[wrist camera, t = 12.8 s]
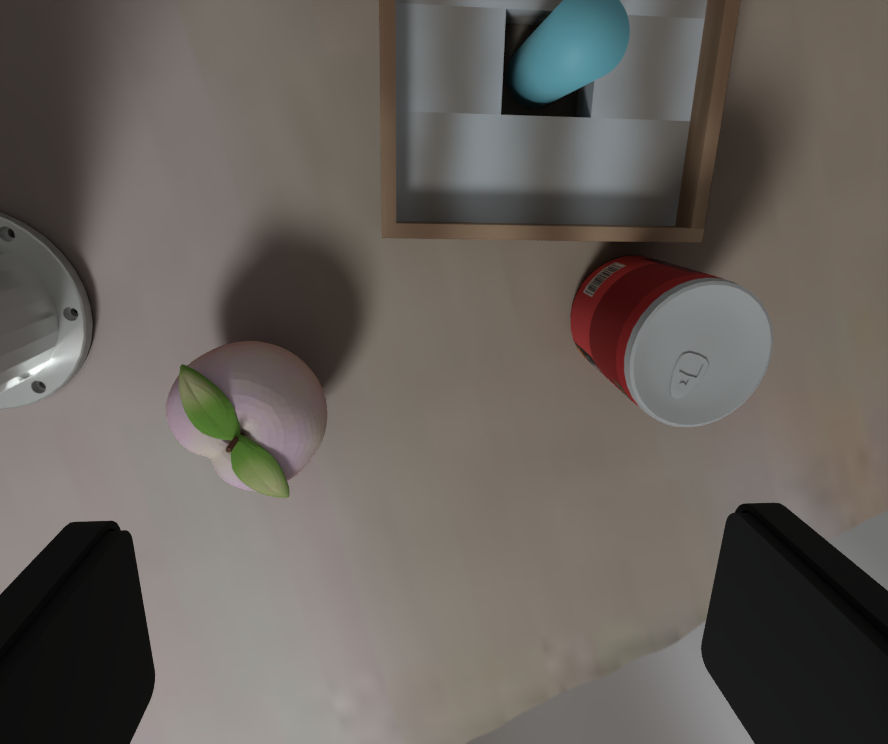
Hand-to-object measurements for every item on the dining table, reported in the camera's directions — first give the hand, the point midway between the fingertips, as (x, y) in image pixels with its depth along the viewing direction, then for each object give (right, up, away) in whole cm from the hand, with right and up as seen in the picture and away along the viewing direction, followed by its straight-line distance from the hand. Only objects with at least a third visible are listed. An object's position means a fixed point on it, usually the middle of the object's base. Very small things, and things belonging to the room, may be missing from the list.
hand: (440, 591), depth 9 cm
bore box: (+6, +21, +25) cm, 34 cm away
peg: (+6, +21, +25) cm, 34 cm away
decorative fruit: (-12, +3, +30) cm, 33 cm away
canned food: (+12, +8, +31) cm, 34 cm away
